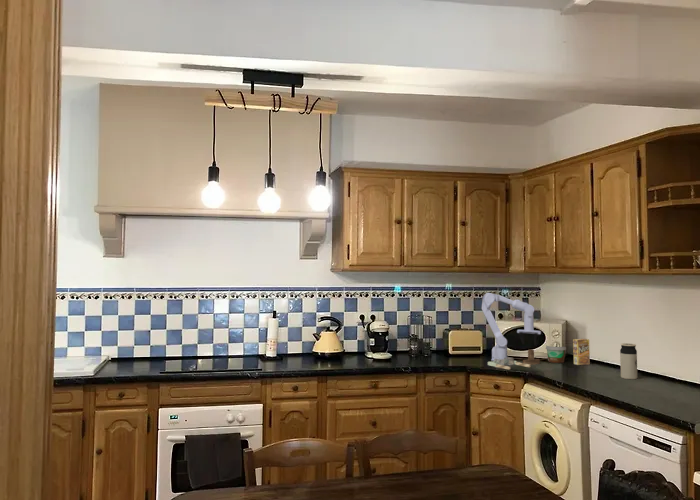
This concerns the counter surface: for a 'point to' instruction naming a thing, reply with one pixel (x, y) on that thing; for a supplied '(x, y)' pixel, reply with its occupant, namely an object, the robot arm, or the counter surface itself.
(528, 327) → the robot arm
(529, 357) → the l-shaped wooden block
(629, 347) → the travel mug
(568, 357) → the counter surface
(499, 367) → the slot rails
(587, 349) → the candy box
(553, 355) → the food container
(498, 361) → the light grey cube
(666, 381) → the counter surface
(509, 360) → the gray cube
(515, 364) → the tray
